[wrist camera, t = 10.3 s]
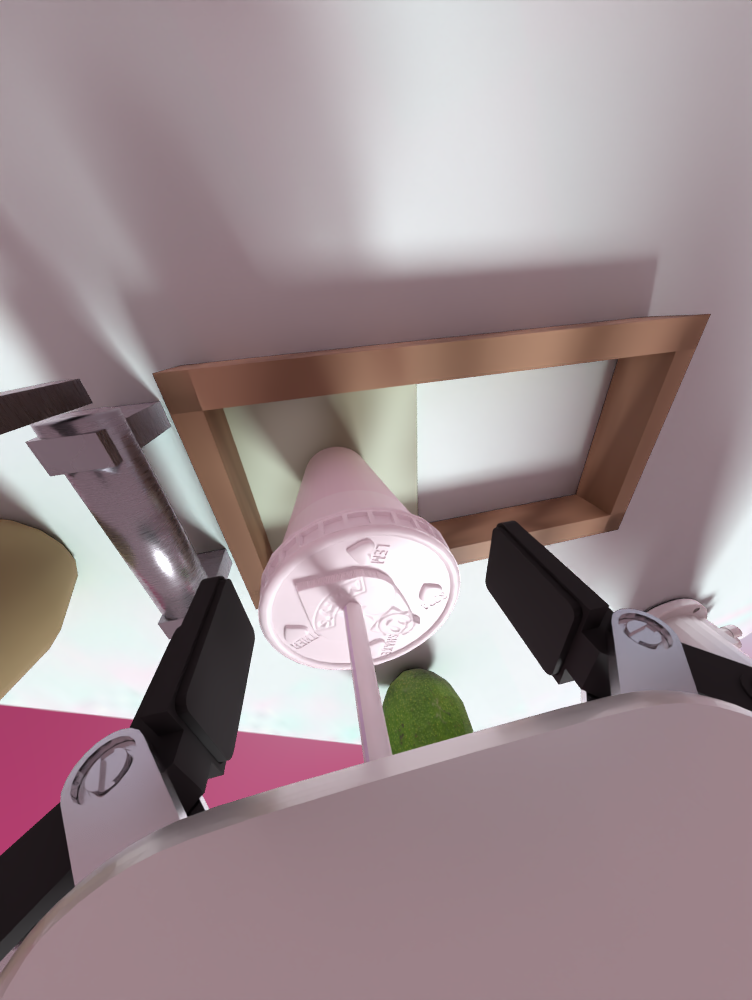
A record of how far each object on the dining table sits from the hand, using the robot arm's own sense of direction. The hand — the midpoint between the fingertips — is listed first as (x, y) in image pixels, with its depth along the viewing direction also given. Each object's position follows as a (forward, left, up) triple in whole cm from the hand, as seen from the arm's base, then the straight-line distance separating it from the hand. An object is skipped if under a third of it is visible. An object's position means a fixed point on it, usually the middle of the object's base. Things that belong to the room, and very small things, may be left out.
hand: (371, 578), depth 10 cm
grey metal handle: (+9, 0, -9) cm, 12 cm away
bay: (-6, 0, -9) cm, 10 cm away
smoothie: (0, 0, -8) cm, 8 cm away
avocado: (-4, +24, -9) cm, 25 cm away
